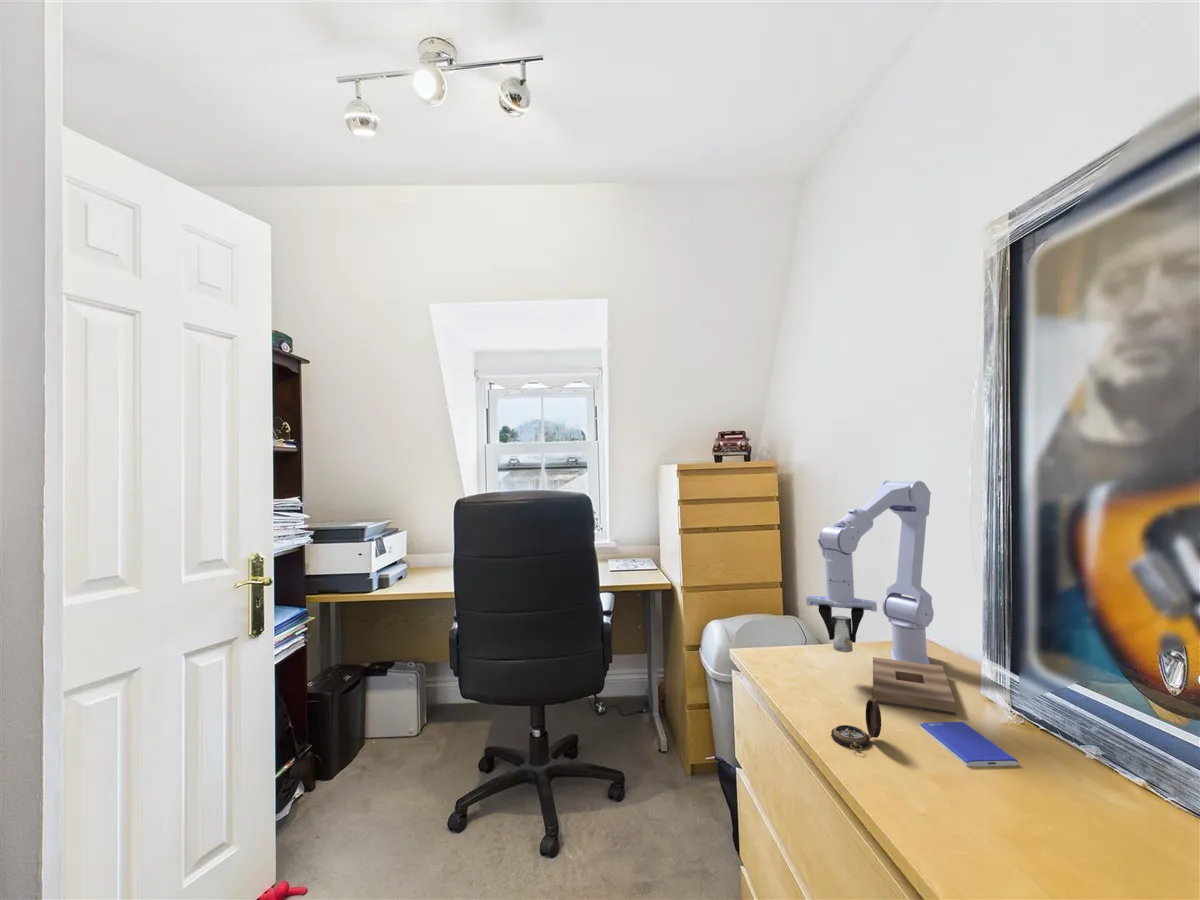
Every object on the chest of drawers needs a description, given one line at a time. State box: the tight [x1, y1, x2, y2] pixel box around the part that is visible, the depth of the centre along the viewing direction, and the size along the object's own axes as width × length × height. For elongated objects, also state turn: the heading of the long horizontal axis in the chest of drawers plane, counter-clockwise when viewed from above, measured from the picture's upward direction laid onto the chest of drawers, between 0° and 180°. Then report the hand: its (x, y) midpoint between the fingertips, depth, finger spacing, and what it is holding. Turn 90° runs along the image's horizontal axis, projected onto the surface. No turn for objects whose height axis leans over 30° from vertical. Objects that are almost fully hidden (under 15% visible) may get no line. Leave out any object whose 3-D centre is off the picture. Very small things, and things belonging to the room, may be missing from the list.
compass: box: [830, 698, 882, 751], centre depth 92 cm, size 8×8×7 cm
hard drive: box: [919, 721, 1019, 768], centre depth 89 cm, size 2×8×12 cm
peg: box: [832, 615, 854, 653], centre depth 118 cm, size 4×4×7 cm
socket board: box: [872, 656, 957, 716], centre depth 112 cm, size 20×14×2 cm
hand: (842, 639), depth 118 cm, fingers closed on peg, 4 cm apart
